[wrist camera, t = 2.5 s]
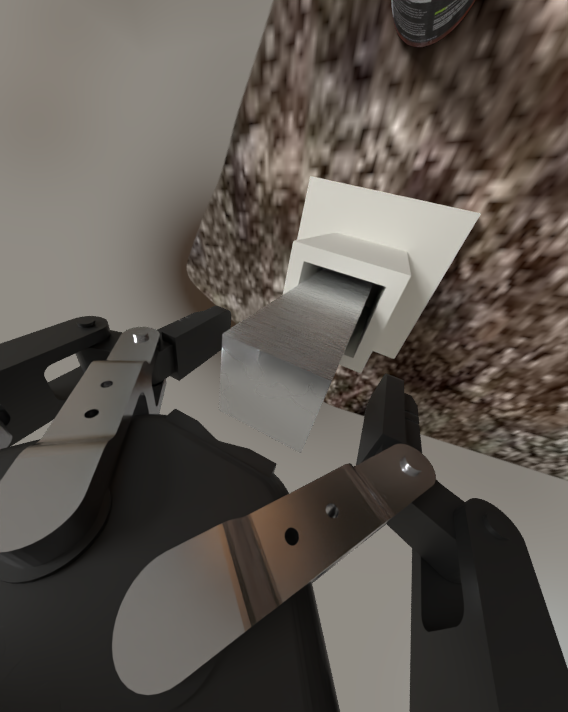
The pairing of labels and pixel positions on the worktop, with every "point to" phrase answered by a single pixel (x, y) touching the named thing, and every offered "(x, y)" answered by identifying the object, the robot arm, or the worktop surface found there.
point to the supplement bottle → (427, 19)
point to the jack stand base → (378, 256)
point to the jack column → (290, 355)
